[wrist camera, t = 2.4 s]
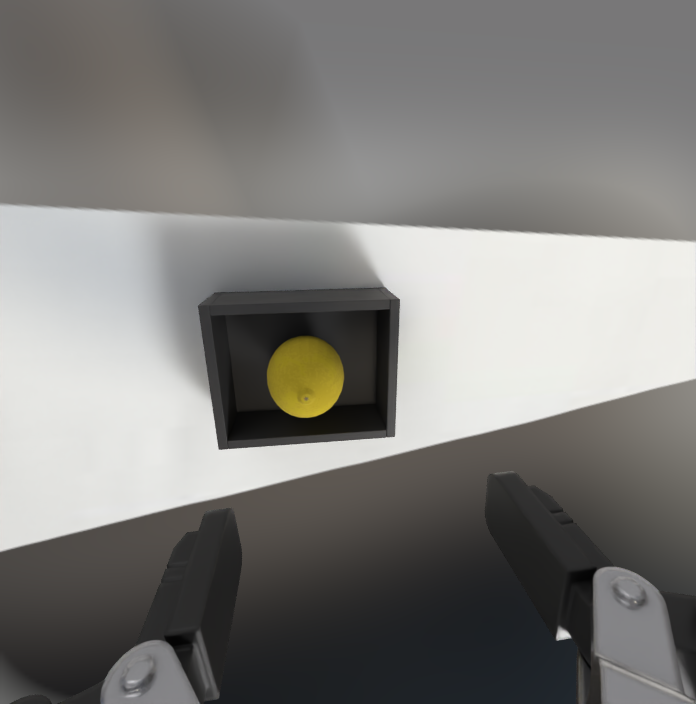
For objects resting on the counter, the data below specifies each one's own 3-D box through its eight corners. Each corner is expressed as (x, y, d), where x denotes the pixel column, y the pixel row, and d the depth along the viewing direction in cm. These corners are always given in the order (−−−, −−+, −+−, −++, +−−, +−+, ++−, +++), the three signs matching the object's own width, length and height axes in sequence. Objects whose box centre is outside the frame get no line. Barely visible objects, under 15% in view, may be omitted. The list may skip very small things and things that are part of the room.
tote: (230, 418, 32) (218, 449, 28) (214, 292, 29) (197, 305, 24) (382, 408, 34) (395, 437, 29) (385, 287, 30) (400, 299, 26)
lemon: (343, 328, 30) (356, 363, 23) (332, 390, 32) (342, 441, 25) (275, 319, 30) (265, 352, 22) (267, 383, 31) (257, 434, 24)
